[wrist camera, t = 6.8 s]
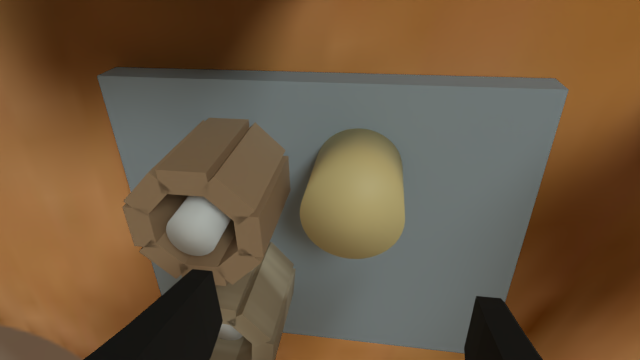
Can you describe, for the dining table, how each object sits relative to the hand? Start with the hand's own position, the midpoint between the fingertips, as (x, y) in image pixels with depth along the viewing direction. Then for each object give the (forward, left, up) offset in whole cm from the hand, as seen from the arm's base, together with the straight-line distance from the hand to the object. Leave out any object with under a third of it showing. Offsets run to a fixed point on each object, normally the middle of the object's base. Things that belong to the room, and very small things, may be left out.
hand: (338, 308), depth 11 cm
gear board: (+2, +4, -10) cm, 11 cm away
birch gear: (+6, +8, -9) cm, 13 cm away
